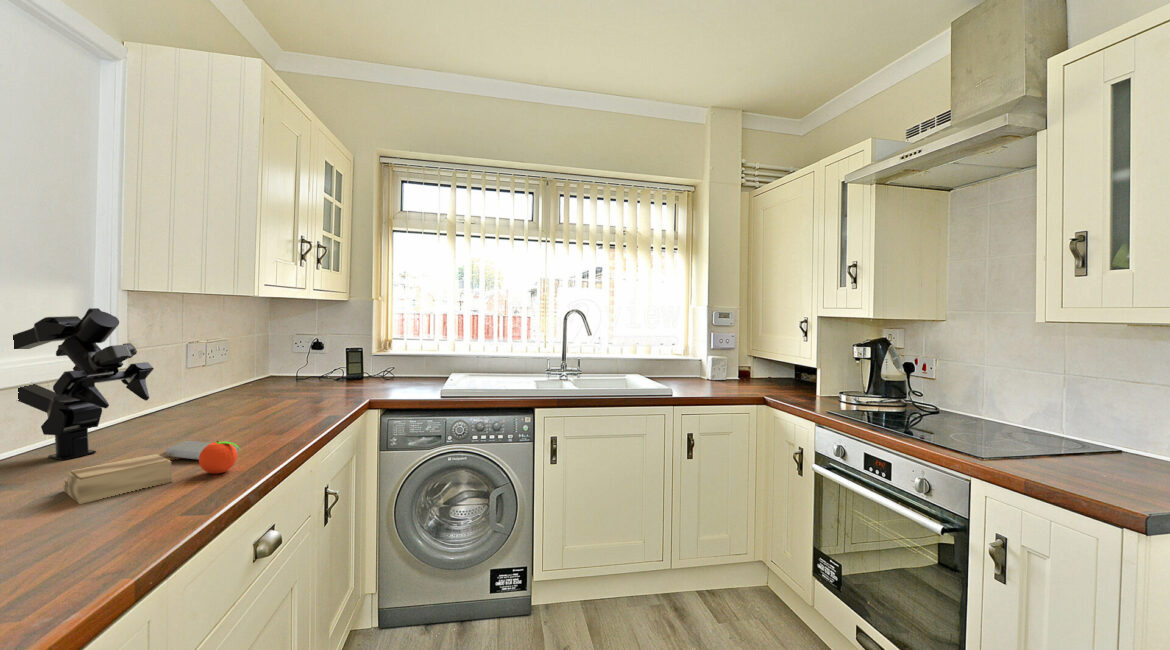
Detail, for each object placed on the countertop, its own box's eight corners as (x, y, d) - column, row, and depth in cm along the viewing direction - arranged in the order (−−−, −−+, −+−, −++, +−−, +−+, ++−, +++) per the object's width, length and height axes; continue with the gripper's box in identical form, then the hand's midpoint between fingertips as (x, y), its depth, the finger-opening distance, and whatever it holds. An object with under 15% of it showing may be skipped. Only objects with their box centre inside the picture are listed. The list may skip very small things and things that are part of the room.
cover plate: (166, 448, 120) (219, 454, 119) (187, 440, 126) (237, 446, 125) (166, 455, 120) (218, 462, 119) (187, 447, 126) (237, 453, 125)
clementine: (248, 466, 116) (247, 435, 116) (235, 476, 110) (234, 444, 109) (208, 469, 115) (207, 438, 114) (192, 479, 108) (191, 446, 108)
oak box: (63, 491, 101) (62, 467, 101) (152, 471, 113) (151, 450, 113) (79, 504, 95) (78, 479, 94) (172, 482, 106) (171, 459, 106)
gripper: (60, 335, 112) (104, 386, 111) (146, 331, 131) (184, 374, 129) (33, 370, 114) (76, 420, 113) (121, 360, 132) (159, 403, 131)
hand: (128, 403), depth 121 cm, fingers open, 9 cm apart
